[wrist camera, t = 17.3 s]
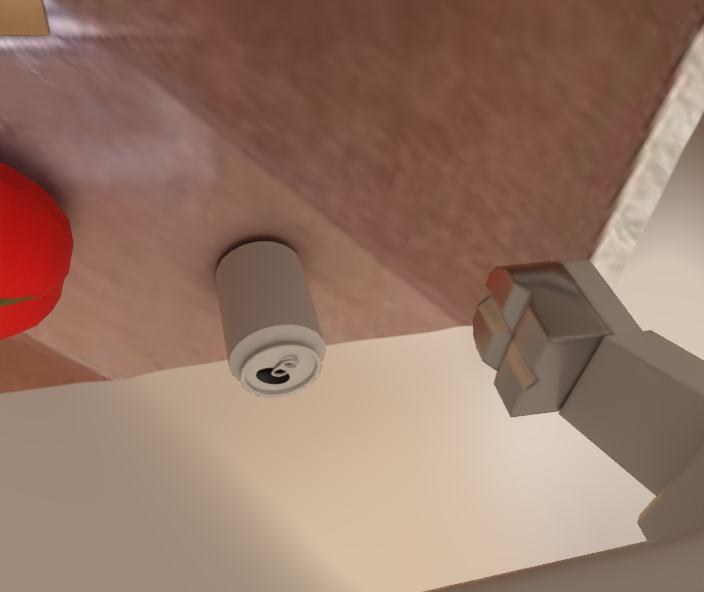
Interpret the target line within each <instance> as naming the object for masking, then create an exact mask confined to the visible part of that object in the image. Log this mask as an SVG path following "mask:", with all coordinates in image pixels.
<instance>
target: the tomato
mask: <svg viewBox="0 0 704 592" xmlns="http://www.w3.org/2000/svg"><path fill="white" fill-rule="evenodd" d="M72 248H73V239H72V233H71V228H70V222H69V219H68V218H67V217H66V215H65V214H64V213H63V211H62V210H61V208H60V207H59V206H58V205H57V203H56V202H55V201H54V200H53V198H52V197H51V196H50V194H49V193H48V192H47V191H45V190H44V189H43V188H42V187H40V186H39V185H38V184H36V183H35V182H33V181H32V180H30V179H29V178H27V177H26V176H24V175H23V174H21V173H20V172H18V171H17V170H15V169H13V168H11V167H9V166H7V165H4V164H2V163H0V340H3V339H5V338H8V337H11V336H13V335H16V334H18V333H20V332H23V331H25V330H27V329H30V328H32V327H34V326H37V325H38V324H39V323H40V322H41V321H42V320H43V319H44V318H45V317H46V316H47V315H48V314H49V313H50V312H51V311H52V310H53V308H54V307H55V305H56V304H57V302H58V301H59V299H60V296H61V292H62V288H63V283H64V279H65V277H66V276H67V274H68V273H69V267H70V261H71V255H72Z"/></svg>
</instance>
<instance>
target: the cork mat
mask: <svg viewBox="0 0 704 592" xmlns="http://www.w3.org/2000/svg"><path fill="white" fill-rule="evenodd" d="M49 34H50V31H49V26H48V22H47V17H46V13H45V8H44V4H43V0H0V36H49Z"/></svg>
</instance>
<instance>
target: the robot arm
mask: <svg viewBox="0 0 704 592" xmlns="http://www.w3.org/2000/svg"><path fill="white" fill-rule="evenodd" d="M486 287H487V289H488V291H489V293H490V295H489V296H488V297H487V298H485V299H484V300H483V301H482V302H481V303H480V304H479V305H478V306H477V310H476V313H475V316H474V319H473V336H474V340H475V344H476V348H477V350H478V352H479V354H480V356H481V358H482V361H483V362H485V363H486V364H487V365H489V366H491V367H492V368H493V369H495V370H496V371H497V373H496V377H495V381H494V385H495V387H496V389H497V391H498V393H499V395H500V397H501V399H502V401H503V403H504V405H505V407H506V408H507V410H508V413H509V415H510V417H517V416H525V415H532V414H540V413H548V412H555V411H560V412H559V415H561V416H562V417H563V418H564V419H566V420H567V421H568V422H569V423H570V424H571V425H573V426H574V427H575V428H576V429H577V430H579V431H580V432H581V433H582V434H583V435H585V436H586V437H587V438H588V439H589V440H590V441H592V442H593V443H594V444H595V445H596V446H597V447H599V448H600V449H601V450H602V451H603V452H605V453H606V454H607V455H608V456H609V457H611V458H612V459H613V460H614V461H615V462H617V463H618V464H619V465H620V466H621V467H622V468H624V469H625V470H626V471H627V472H628V473H630V474H631V475H632V476H633V477H634V478H636V479H637V480H638V481H639V482H640V483H641V484H643V485H644V486H645V487H646V488H647V489H649V490H650V491H651V492H652V493H653V494H655V495H656V497H655V498H654V500H653V501H652V502H651V503H650V504H649V505H648V506H647V507H646V508H645V509H644V511H643V512H642V513H641V514H640V516H639V519H638V522H637V523H638V525H639V527H640V528H641V530H642V532H643V534H644V535H645V537H646V539H647V541H645V542H640V543H636V544H632V545H627V546H623V547H618V548H614V549H610V550H605V551H601V552H596V553H592V554H587V555H583V556H578V557H574V558H570V559H565V560H561V561H556V562H552V563H547V564H543V565H539V566H535V567H530V568H525V569H521V570H517V571H512V572H508V573H503V574H499V575H494V576H490V577H486V578H482V579H477V580H472V581H468V582H464V583H459V584H455V585H450V586H446V587H441V588H437V589H433V590H428V591H424V592H704V360H702V359H700V358H698V357H697V356H695V355H693V354H691V353H689V352H688V351H686V350H684V349H683V348H681V347H679V346H677V345H676V344H674V343H672V342H671V341H669V340H667V339H665V338H664V337H662V336H660V335H658V334H657V333H655V332H653V331H651V330H650V331H642V330H641V328H640V327H639V326H638V324H637V323H636V322H635V320H634V319H633V318H632V316H631V315H630V314H629V312H628V311H627V310H626V308H625V307H624V306H623V304H622V303H621V302H620V300H619V299H618V298H617V296H616V295H615V294H614V292H613V291H612V290H611V288H610V287H609V285H608V284H607V283H606V281H605V280H604V279H603V277H602V276H601V275H600V273H599V272H598V271H597V269H596V268H595V267H594V265H593V264H592V263H591V262H589V261H588V260H586V259H584V258H577V259H568V260H558V261H553V262H551V261H548V262H538V263H528V264H518V265H508V266H498V267H496V268H495V269H494V270H493V271H492V272H491V273H490V274H489V277H488V279H487V282H486Z"/></svg>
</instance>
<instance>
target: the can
mask: <svg viewBox="0 0 704 592" xmlns="http://www.w3.org/2000/svg"><path fill="white" fill-rule="evenodd" d="M215 281H216V287H217V293H218V300H219V306H220V312H221V319H222V325H223V331H224V338H225V344H226V350H227V357H228V363H229V367H230V370H231V372H232V375H233V376H235V377H236V378H237V379H238V380H239V381H240V382H241V384H242V387H244V388H245V389H246V390H247V391H248V392H249V393H252V394H254V395H257V396H260V397H267V398H275V397H284V396H288V395H292V394H295V393H297V392H299V391H301V390H303V389H305V388H306V387H308V386H309V385H310V384H312V383H313V382H314V381H315V380H316V378H317V377H318V376H319V374H320V371H321V368H322V363H321V362H322V361H323V359H324V355H325V351H326V349H325V343H324V339H323V336H322V332H321V329H320V325H319V322H318V319H317V315H316V312H315V308H314V305H313V301H312V298H311V295H310V291H309V288H308V284H307V281H306V278H305V274H304V271H303V267H302V264H301V261H300V259H299V257H298V256H297V254H296V253H295V252H294V251H293V250H292V249H290V248H288V247H287V246H285V245H283V244H279V243H276V242H272V241H257V242H253V243H249V244H245V245H242V246H240V247H238V248H236V249H234V250H232V251H231V252H230V253H229V254H228V255H227V256H225V257H224V258H223V259H222V261H221V262H220V264H219V266H218V268H217V270H216V279H215Z"/></svg>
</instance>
